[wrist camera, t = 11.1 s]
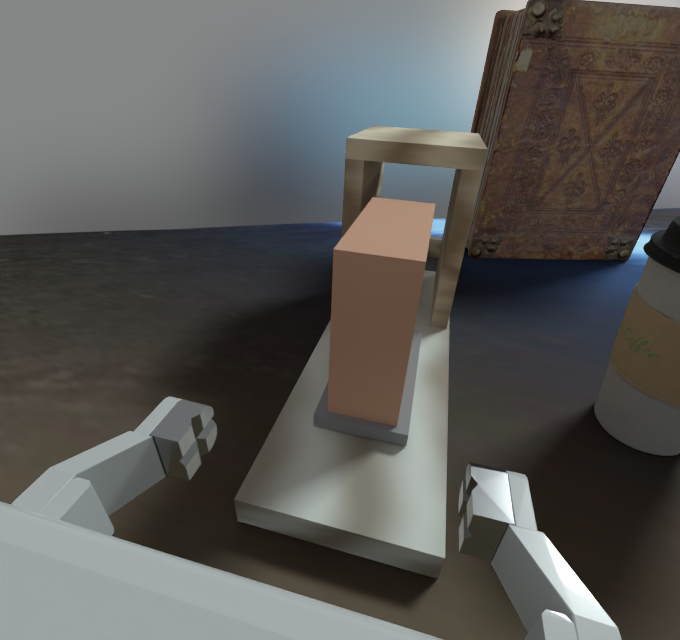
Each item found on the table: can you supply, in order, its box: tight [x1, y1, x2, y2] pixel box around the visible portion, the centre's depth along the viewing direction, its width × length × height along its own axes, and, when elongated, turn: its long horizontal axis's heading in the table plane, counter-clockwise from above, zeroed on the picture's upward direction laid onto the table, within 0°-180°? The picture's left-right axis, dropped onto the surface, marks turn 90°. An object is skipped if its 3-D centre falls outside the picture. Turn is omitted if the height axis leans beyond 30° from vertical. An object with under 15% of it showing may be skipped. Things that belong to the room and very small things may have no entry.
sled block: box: [314, 197, 435, 446], centre depth 26 cm, size 6×12×12 cm, turn 166°
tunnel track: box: [234, 126, 488, 579], centre depth 34 cm, size 11×44×18 cm, turn 166°
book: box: [465, 0, 680, 261], centre depth 54 cm, size 25×9×30 cm, turn 93°
